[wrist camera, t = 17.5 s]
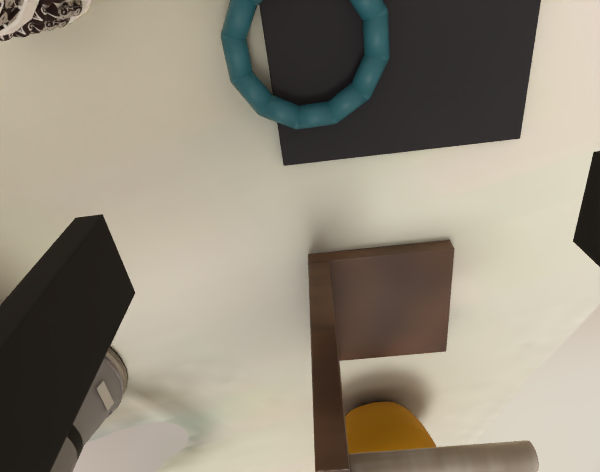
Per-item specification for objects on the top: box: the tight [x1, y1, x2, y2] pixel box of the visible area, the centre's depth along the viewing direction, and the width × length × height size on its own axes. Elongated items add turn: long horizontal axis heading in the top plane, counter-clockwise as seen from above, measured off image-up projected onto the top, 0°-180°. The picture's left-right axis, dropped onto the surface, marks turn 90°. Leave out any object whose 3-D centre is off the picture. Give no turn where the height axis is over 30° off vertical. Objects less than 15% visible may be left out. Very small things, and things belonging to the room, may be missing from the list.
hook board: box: [308, 240, 539, 472], centre depth 38 cm, size 15×14×22 cm
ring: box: [221, 0, 389, 129], centre depth 32 cm, size 2×12×12 cm
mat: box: [259, 0, 541, 165], centre depth 33 cm, size 20×18×1 cm
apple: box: [345, 402, 436, 454], centre depth 52 cm, size 13×13×11 cm
